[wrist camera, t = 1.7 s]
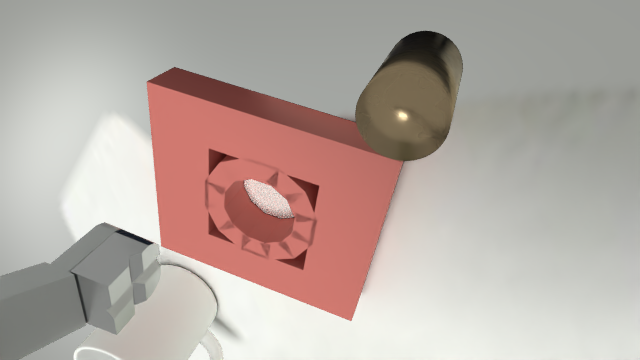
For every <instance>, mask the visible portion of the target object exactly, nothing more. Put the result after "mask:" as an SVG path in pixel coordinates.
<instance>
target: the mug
mask: <svg viewBox="0 0 640 360" xmlns="http://www.w3.org/2000/svg"><path fill="white" fill-rule="evenodd" d="M216 314H217V303H216V299H215V297H214V294H213V293H212V291H211V289H210V288H209V287H208V286H207V284H206V283H205V282H204V281H203V280H202V279H200V278H199V277H198V276H196V275H195V274H194V273H192V272H190V271H188V270H186V269H184V268H181V267H178V266H174V265H161V275H160V280H159V282H158V284H157V286H156V288H155V290H154V292H153V293H152V294H151V296H150V297H149V298H148V299H147V301H144V302H142V303H139V304H137V305H135V315H134V316H133V317H132V318H131V319H130V321H129V322H128V323H127V324H126V325H125V326H124V328H123V329H122V330H121V331H120V332H119V333H118V335H115V334H113V333H110V332H108V331H105V330H103V329H100V328H98V327H96V329H95V330H94V331H93V332H92V333H91V334H90V335H89V336H88V337H87V338H86V339H85V340H84V341H83V342H82V344H81V345H80V346H79V347H78V348H77V349H76V350H75V352H74V360H188V359H189V357H190V356H191V354H192V353H193V351H194V350H195V348H196V347H197V345H198V344H199V343H200V344H202V345H203V346H204V347H205V348H206V350H207V351H208V353H209V356H210V360H223V352H222V348H221V346H220V343H219V342H218V340H217V339H216V337H215V336H214V335H213V334H212V333H211V332H210V331H209V330H208V329H209V327H210V326H211V324H212V322H213V321H214V319H215V316H216Z"/></svg>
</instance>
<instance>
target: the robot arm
mask: <svg viewBox="0 0 640 360" xmlns="http://www.w3.org/2000/svg"><path fill="white" fill-rule="evenodd" d="M159 254H160V251H159V245H158V244H156V243H154V242H151V241H149V240H146V239H144V238H142V237H139V236H137V235H134V234H132V233H130V232H127V231H125V230H123V229H120V228H118V227H115V226H113V225H110V224H108V223H105V222H104V223H101V224H99V225H97V226H95V227H94V228H93V229H92V230H91V231H89V232H88V233H87V234H86V235H85V236H83V237H82V238H81V239H80V240H79V241H77V242H76V243H75V244H74V245H73V246H71V247H70V248H69V249H68V250H67V251H66V252H64V253H63V254H62V255H61V256H60V257H58V258H57V259H56V260H55V261H53V262H52V263H51V264H49V263H46V262H44V263H41V264H38V265H35V266H31V267H28V268H25V269H22V270H19V271H15V272H12V273H9V274H6V275H2V276H0V360H19V359H21V358H23V357H25V356H27V355H29V354H31V353H33V352H35V351H37V350H39V349H41V348H43V347H44V346H46V345H48V344H50V343H52V342H54V341H56V340H58V339H60V338H62V337H64V336H66V335H68V334H70V333H72V332H74V331H76V330H78V329H80V328H82V327H84V326H86V323H88V324H90V325H93V326H95V327H98V328H100V329H103V330H105V331H108V332H110V333H113V334H115V335H118V333H119V332H120V331H121V330H122V329H123V328H124V326H125V325H126V324H127V323H128V322H129V321H130V319H131V318H132V317H133V316H134V315H135V305H137V304H139V303H142V302H144V301H147V299H148V298H149V297H150V296H151V294H152V293H153V292H154V290H155V288H156V286H157V284H158V282H159V280H160V275H161V266H160V264H159V263H158V261H157V260H156V258H157V257H158V255H159Z"/></svg>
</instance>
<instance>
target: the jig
mask: <svg viewBox="0 0 640 360" xmlns="http://www.w3.org/2000/svg"><path fill="white" fill-rule="evenodd" d="M147 90H148V101H149V112H150V124H151V135H152V146H153V157H154V169H155V180H156V191H157V202H158V213H159V225H160V236H161V246H162V247H165V248H167V249H170V250H172V251H175V252H177V253H180V254H182V255H185V256H188V257H190V258H193V259H195V260H198V261H200V262H203V263H205V264H208V265H210V266H213V267H215V268H218V269H220V270H223V271H226V272H228V273H231V274H233V275H236V276H238V277H241V278H243V279H246V280H248V281H251V282H253V283H256V284H258V285H261V286H264V287H266V288H269V289H271V290H274V291H276V292H279V293H281V294H284V295H286V296H289V297H291V298H294V299H297V300H299V301H302V302H304V303H307V304H309V305H312V306H314V307H317V308H319V309H322V310H324V311H327V312H329V313H332V314H335V315H337V316H340V317H342V318H345V319H347V320H350V321H351V320H352V318H353V315H354V312H355V309H356V306H357V303H358V301H359V298H360V295H361V292H362V289H363V286H364V283H365V280H366V277H367V273H368V270H369V267H370V264H371V261H372V258H373V255H374V252H375V249H376V245H377V242H378V239H379V236H380V233H381V230H382V227H383V224H384V221H385V217H386V214H387V211H388V208H389V205H390V202H391V199H392V196H393V193H394V190H395V186H396V183H397V180H398V177H399V174H400V171H401V168H402V165H403V162H404V161H399V160H394V159H390V158H387V157H384V156H382V155H381V154H379V153H377V152H376V151H374V150H373V149H372V148H371V147H369V145H368V144H367V143H366V142H365V141H364V139H363V138H362V136H361V135H360V133H359V130H358V128H357V124H356V122H353V121H350V120H346V119H343V118H340V117H337V116H333V115H330V114H327V113H324V112H320V111H317V110H314V109H310V108H307V107H303V106H301V105H297V104H294V103H291V102H287V101H284V100H281V99H278V98H274V97H271V96H268V95H265V94H261V93H258V92H255V91H251V90H248V89H244V88H241V87H238V86H235V85H231V84H228V83H225V82H222V81H218V80H215V79H212V78H209V77H205V76H202V75H199V74H196V73H192V72H189V71H186V70H183V69H179V68H176V67H174V68H172V69H170V70H168V71H166V72H164V73H162V74H160V75H158V76H157V77H155V78H153V79H151V80H149V81H147ZM248 179H253V180H256V181H259V182H262V183H265V184H268V185H271V186H272V187H273V188H274V189H275V190H276V191H278V192H279V193H280V194H281V195H282V196H283V197H284V198H285V199H286V200H287V201H288V203H289V206H290V208H291V210H292V212H293V215H294V217H295V218H287V219H279V218H277V217H274V216H271V215H268V214H265V213H264V212H263V211H261V210H260V209H259V208H258V207H257V206H256V205H255V204H254V203H252V202H251V200H250V198H249V196H248V194H247V192H246V190H245V188H244V180H248Z"/></svg>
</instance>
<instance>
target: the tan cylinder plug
mask: <svg viewBox="0 0 640 360" xmlns="http://www.w3.org/2000/svg"><path fill="white" fill-rule="evenodd" d="M462 69H463V63H462V58H461V54H460V53H459V50H458V48H457V47H456V45H455V44H454V43H453V42H452V41H451V40H450V39H449V38H447V37H446V36H444V35H442V34H439V33H436V32H432V31H420V32H415V33H412V34H409V35H408V36H406V37H404V38H403V39H401V40H400V41H399V42H398V43H397V44H396V45H395V47H394V48H393V49H392V51H391V52H390V54H389V55H388V56H387V58H386V59H385V61H384V62H383V63H382V65H381V66H380V68H379V69H378V71H377V72H376V73H375V75H374V76H373V78H372V79H371V81H370V82H369V83H368V85H367V86H366V88H365V89H364V91H363V92H362V94H361V95H360V97H359V100H358V102H357V105H356V113H355V117H356V124H357V128H358V130H359V133H360V135H361V136H362V138H363V139H364V141H365V142H366V143H367V144H368V145H369V147H371V148H372V149H373V150H374V151H376V152H377V153H379V154H381V155H382V156H384V157H387V158H390V159H394V160H399V161H412V160H417V159H421V158H424V157H426V156H428V155H430V154H432V153H433V152H435V151H436V150H437V149H438V148H439V147H440V146H441V145H442V144H443V142H444V141H445V139H446V137H447V135H448V133H449V129H450V125H451V121H452V117H453V112H454V108H455V103H456V99H457V94H458V89H459V85H460V81H461V76H462Z"/></svg>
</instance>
